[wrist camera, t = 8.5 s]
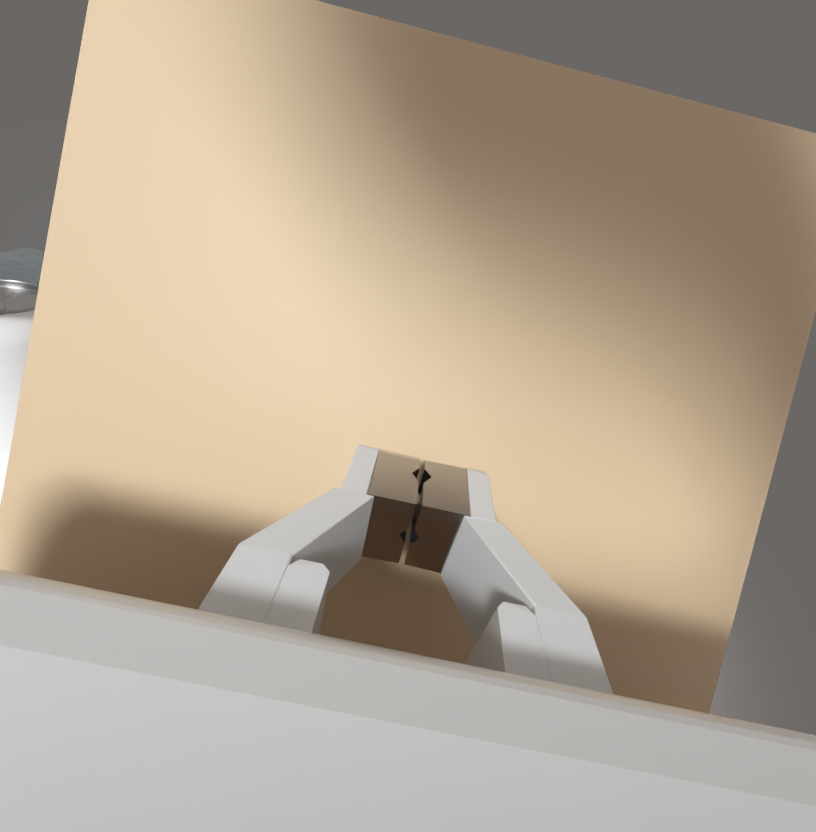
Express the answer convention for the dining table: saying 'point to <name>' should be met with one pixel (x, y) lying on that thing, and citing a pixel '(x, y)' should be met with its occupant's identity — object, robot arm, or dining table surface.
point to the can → (13, 356)
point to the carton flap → (410, 320)
